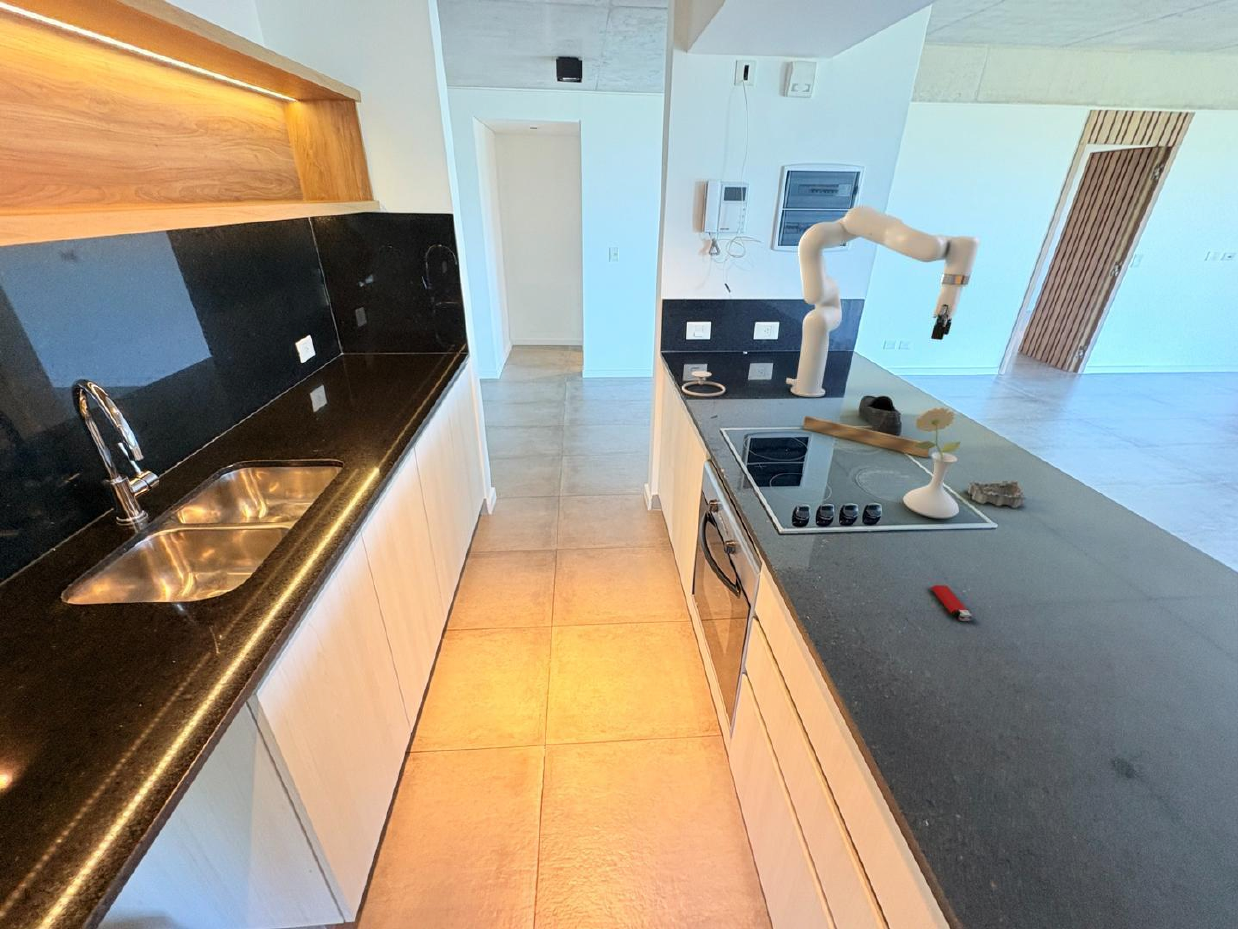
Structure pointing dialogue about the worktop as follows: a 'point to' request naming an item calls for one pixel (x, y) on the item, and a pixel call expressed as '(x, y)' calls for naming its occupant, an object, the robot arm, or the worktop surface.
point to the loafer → (881, 414)
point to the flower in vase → (935, 470)
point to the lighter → (952, 602)
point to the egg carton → (997, 493)
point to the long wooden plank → (865, 436)
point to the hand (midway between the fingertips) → (939, 336)
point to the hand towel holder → (702, 375)
